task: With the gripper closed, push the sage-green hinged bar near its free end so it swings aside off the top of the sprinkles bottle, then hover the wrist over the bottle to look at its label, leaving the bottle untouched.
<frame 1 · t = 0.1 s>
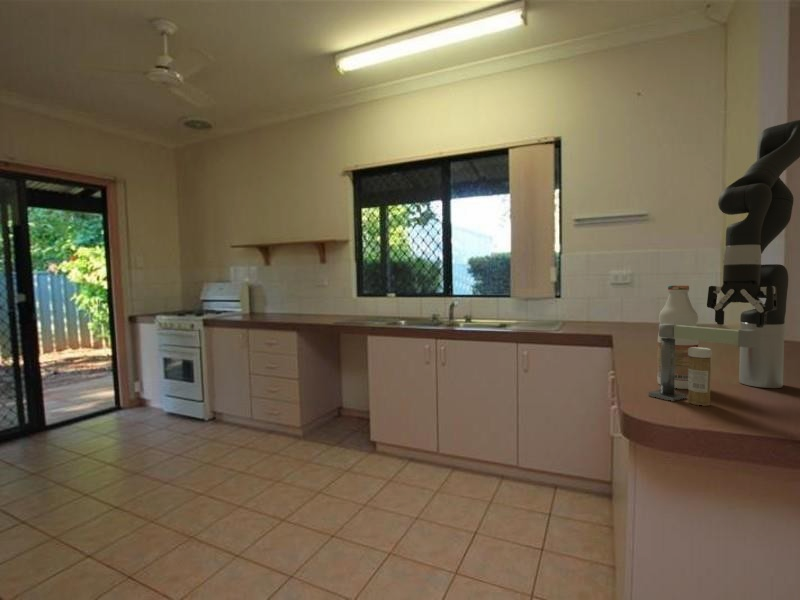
hand: (739, 326, 109), 17 cm above the countertop, tool pointing down, fingers open, 8 cm apart
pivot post: (667, 396, 107), on the countertop
swing bar: (702, 333, 99), point 17 cm above the countertop, hinge at 0.0°
fruit juice: (676, 386, 117), on the countertop
sprinkles bottle: (698, 404, 101), on the countertop
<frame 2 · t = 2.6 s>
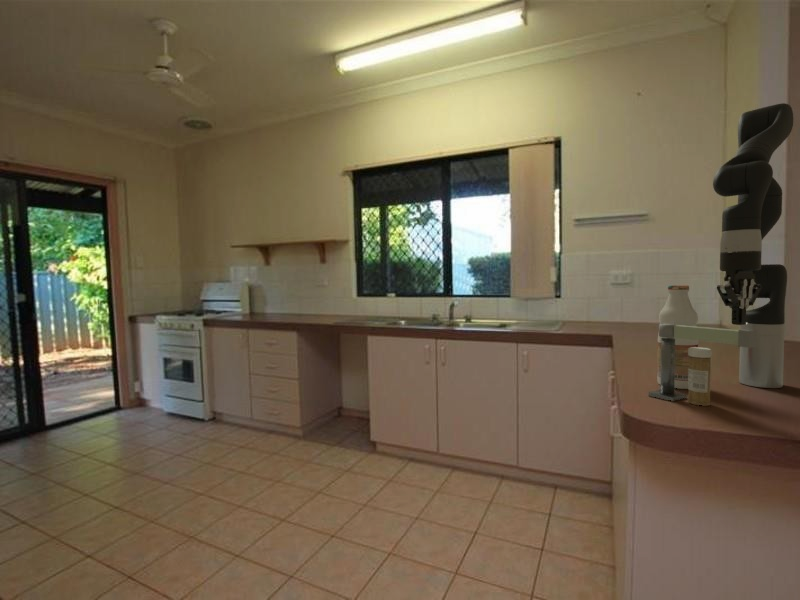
hand: (738, 324, 98), 19 cm above the countertop, tool pointing down, fingers closed
nothing on the countertop moved.
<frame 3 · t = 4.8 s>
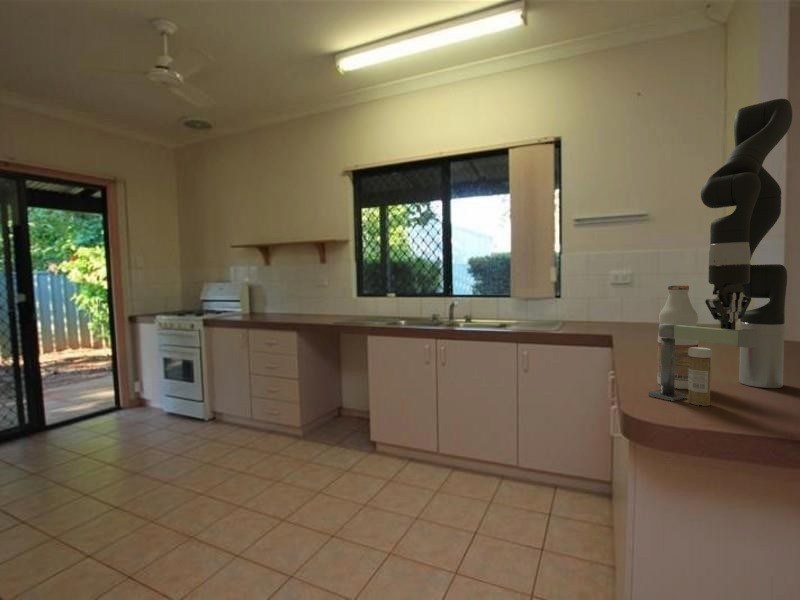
hand: (727, 338, 97), 16 cm above the countertop, tool pointing down, fingers closed
swing bar: (702, 333, 99), point 17 cm above the countertop, hinge at 0.8°, touching gripper
everything else where it was.
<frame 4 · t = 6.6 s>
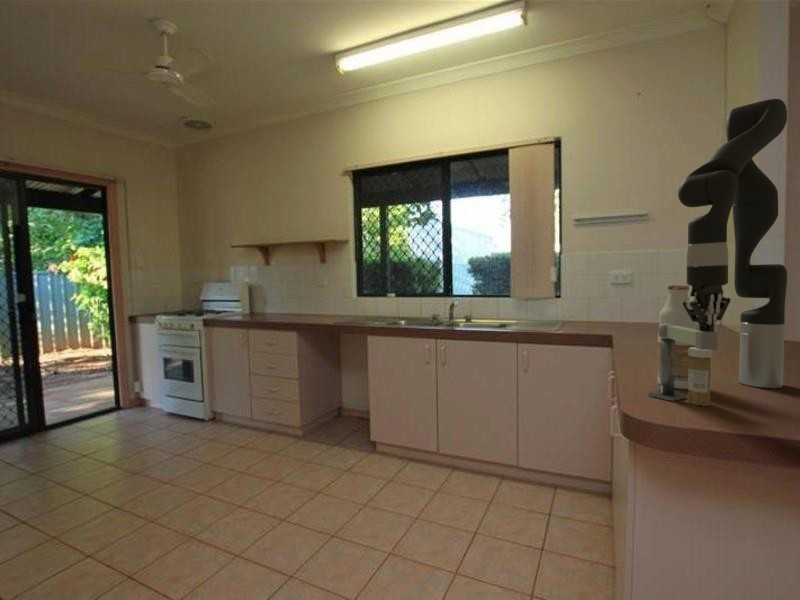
hand: (706, 340, 95), 16 cm above the countertop, tool pointing down, fingers closed
swing bar: (684, 334, 98), point 17 cm above the countertop, hinge at 37.2°, touching gripper
everything else where it was.
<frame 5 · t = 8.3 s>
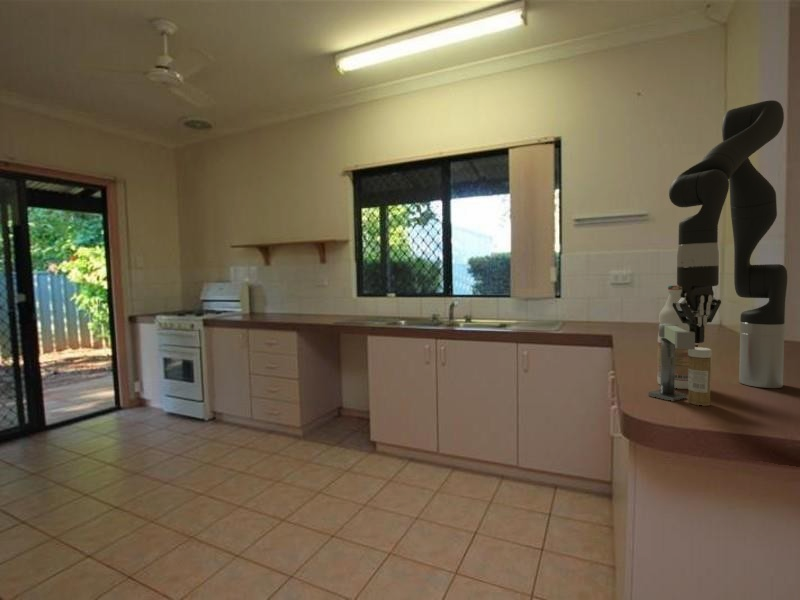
hand: (696, 342, 93), 16 cm above the countertop, tool pointing down, fingers closed
swing bar: (675, 334, 99), point 17 cm above the countertop, hinge at 51.2°, touching gripper
everything else where it was.
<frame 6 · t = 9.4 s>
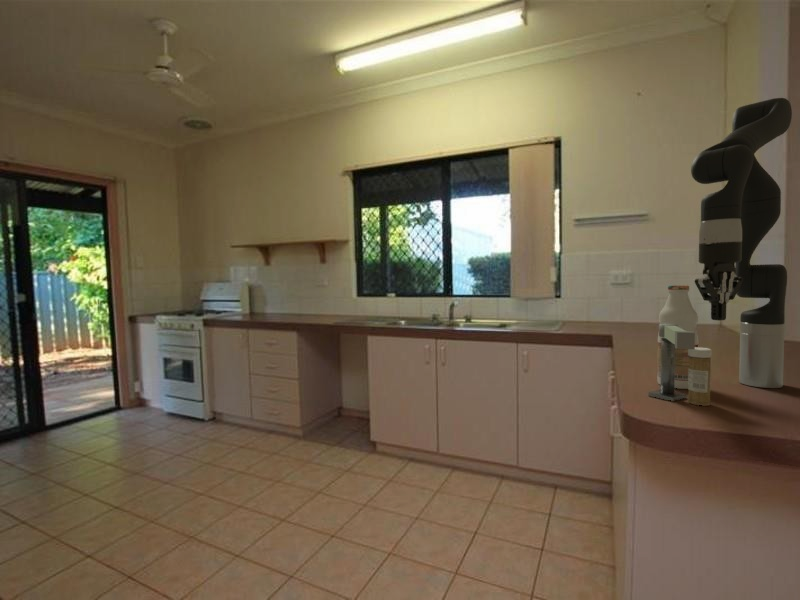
hand: (718, 319, 93), 21 cm above the countertop, tool pointing down, fingers closed
swing bar: (675, 334, 99), point 17 cm above the countertop, hinge at 51.3°
everything else where it was.
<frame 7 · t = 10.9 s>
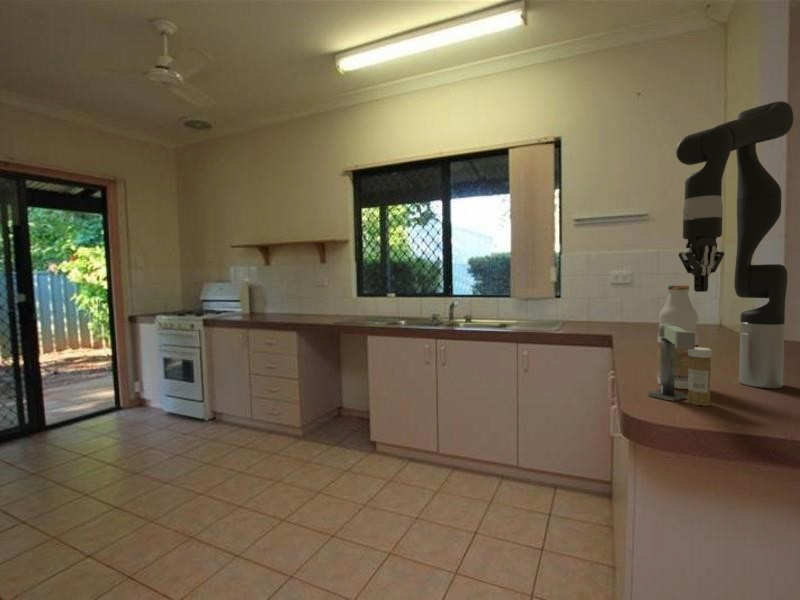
hand: (700, 291, 99), 27 cm above the countertop, tool pointing down, fingers closed
nothing on the countertop moved.
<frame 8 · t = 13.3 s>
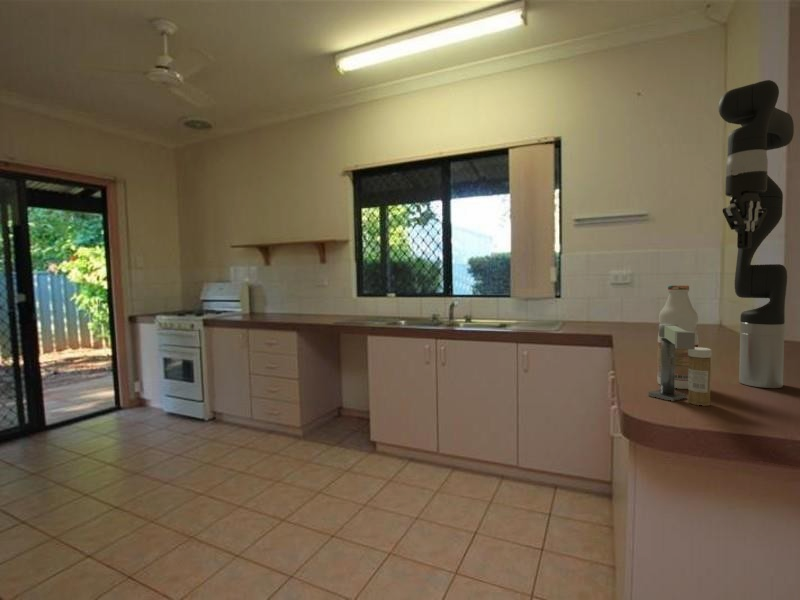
hand: (744, 248, 99), 37 cm above the countertop, tool pointing down, fingers closed
nothing on the countertop moved.
at the end: swing bar at +51° (first picture: +0°); sprinkles bottle tilted 0°; sprinkles bottle moved 0.2 cm from its start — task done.
